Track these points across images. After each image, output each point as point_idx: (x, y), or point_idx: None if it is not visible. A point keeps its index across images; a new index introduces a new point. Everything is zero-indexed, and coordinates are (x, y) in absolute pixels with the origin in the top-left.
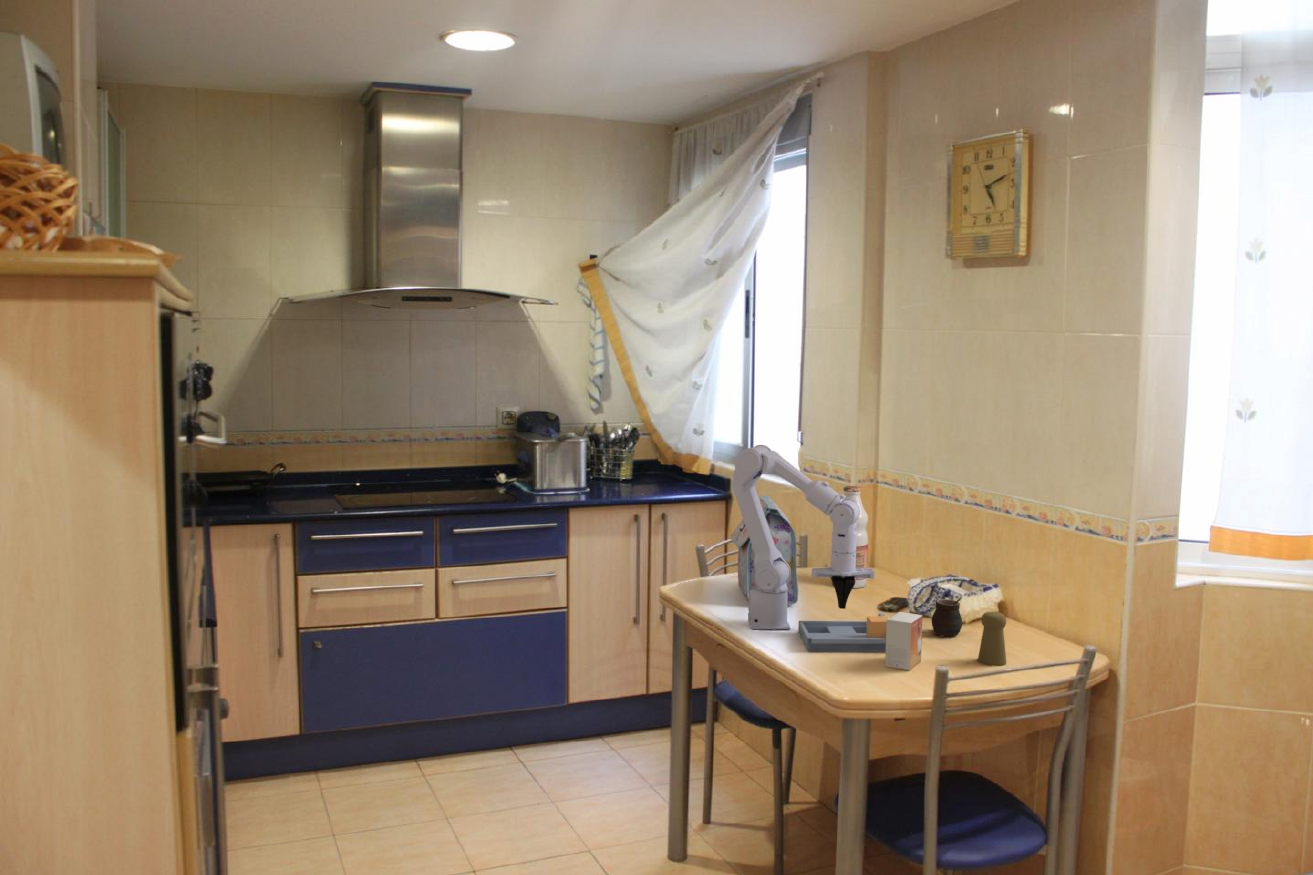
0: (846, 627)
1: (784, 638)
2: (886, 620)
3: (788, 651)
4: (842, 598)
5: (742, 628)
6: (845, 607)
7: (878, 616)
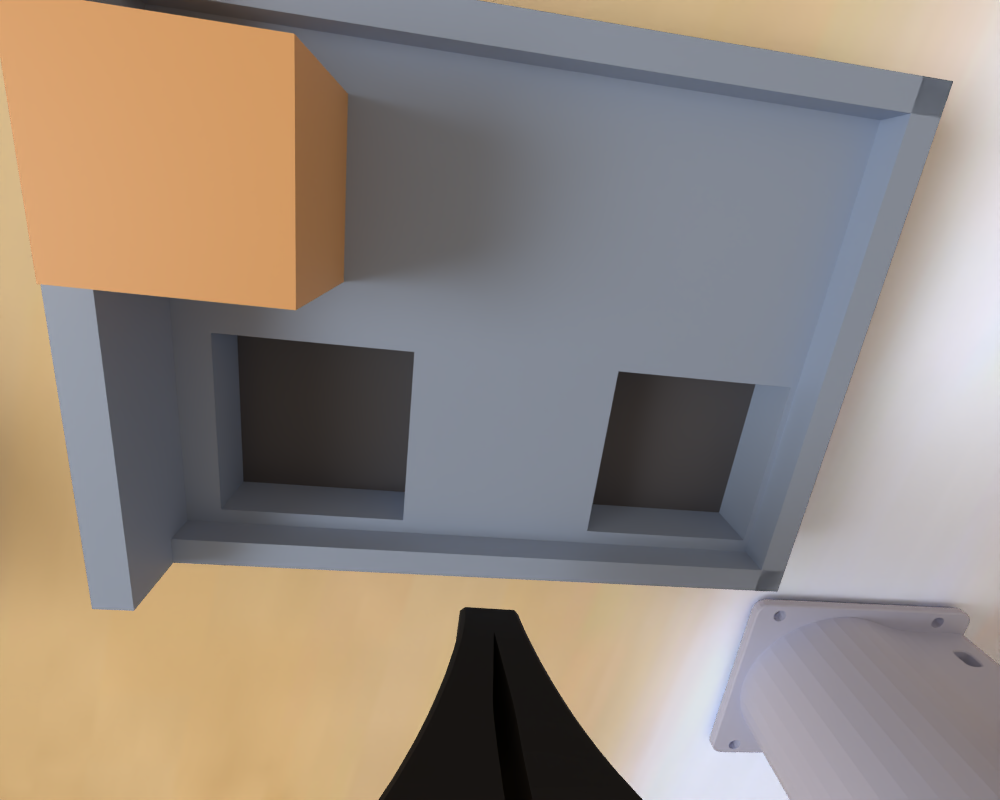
0: (450, 501)
1: (862, 440)
2: (56, 67)
3: (986, 139)
4: (509, 681)
5: (989, 628)
6: (461, 614)
7: (149, 285)
